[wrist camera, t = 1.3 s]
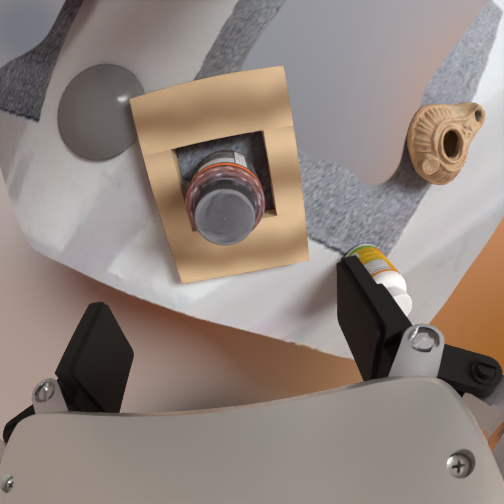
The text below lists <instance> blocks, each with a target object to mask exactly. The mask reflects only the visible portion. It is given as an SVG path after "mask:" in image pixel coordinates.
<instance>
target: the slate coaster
mask: <svg viewBox="0 0 504 504" xmlns="http://www.w3.org/2000/svg"><path fill="white" fill-rule="evenodd" d="M141 95H144V90H143V88H142V86H141V84H140V82H139V81H138V79H137V78H136V77H135V76H134V75H133V74H132V73H131V72H129V71H128V70H126V69H124V68H122V67H119V66H115V65H109V64H104V65H97V66H93V67H91V68H88V69H86V70H84V71H83V72H81V73H80V74H78V75H77V76H76V77H75V78H74V79H73V80H72V81H71V82H70V84H69V85H68V86H67V88H66V90H65V91H64V93H63V95H62V98H61V101H60V104H59V109H58V126H59V130H60V134H61V136H62V138H63V140H64V142H65V144H66V145H67V146H68V147H69V149H70V150H72V151H73V152H74V153H75V154H77V155H78V156H80V157H82V158H85V159H89V160H105V159H108V158H111V157H114V156H116V155H118V154H119V153H121V152H123V151H124V150H125V149H127V148H128V147H129V146H130V145H131V144H132V143H133V142H134V140H135V139H136V138H137V136H138V134H137V130H136V126H135V122H134V118H133V113H132V109H131V104H130V100H129V99H132V98H135V97H138V96H141Z"/></svg>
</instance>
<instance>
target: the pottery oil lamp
mask: <svg viewBox="0 0 504 504" xmlns="http://www.w3.org/2000/svg"><path fill="white" fill-rule="evenodd" d="M484 121H485V111H484V109H483V108H482V106H480V105H479V104H477V103H472V102H465V103H459V104H454V105H444V104H431V105H425V106H423V107H421V108H420V109H419V110H418V111H417V112H416V113H415V115H414V117H413V118H412V120H411V122H410V125H409V128H408V136H407V146H408V150H409V154H410V158H411V161H412V164H413V166H414V168H415V171H416V172H417V173H418V174H419V175H420V176H421V177H422V178H423V179H425V180H426V181H428V182H429V183H431V184H436V185H445V184H447V183H449V182H451V181H452V180H453V179H454V178H455V177H456V176H457V175H458V173H459V172H460V170H461V168H462V167H463V165H464V163H465V160H466V158H467V153H468V148H469V145H470V143H471V141H472V139H473V138H474V136H475V135H476V133H477V132H478V130H479V129H480V128H481V127H482V125H483V123H484Z"/></svg>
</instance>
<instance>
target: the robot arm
mask: <svg viewBox="0 0 504 504" xmlns="http://www.w3.org/2000/svg"><path fill="white" fill-rule="evenodd" d="M337 317H338V322H339V325H340V327H341V329H342V332H343V334H344V336H345V338H346V341H347V343H348V345H349V348H350V350H351V352H352V355H353V357H354V359H355V362H356V364H357V366H358V369H359V371H360V373H361V376H362V378H363V380H364V382H360V383H355V384H350V385H346V386H343V387H338V388H334V389H330V390H325V391H321V392H316V393H311V394H306V395H301V396H296V397H291V398H286V399H281V400H275V401H269V402H262V403H257V404H249V405H242V406H234V407H226V408H216V409H206V410H194V411H179V412H158V413H119V412H120V408H121V403H122V400H123V395H124V392H125V388H126V383H127V380H128V376H129V372H130V368H131V365H132V361H133V357H134V353H133V350H132V348H131V346H130V344H129V342H128V341H127V339H126V337H125V336H124V334H123V332H122V330H121V328H120V327H119V325H118V323H117V321H116V319H115V317H114V315H113V314H112V312H111V310H110V308H109V306H108V305H106V304H104V303H103V302H96V303H91V304H89V306H88V308H87V309H86V311H85V313H84V315H83V317H82V319H81V321H80V323H79V324H78V326H77V328H76V330H75V332H74V334H73V336H72V338H71V340H70V342H69V344H68V346H67V348H66V350H65V352H64V354H63V356H62V359H61V361H60V363H59V365H58V367H57V369H56V372H55V374H56V375H57V377H58V379H57V381H56V380H55V379H52V378H48V379H45V380H43V381H41V382H40V383H39V384H37V386H36V387H35V388H34V390H33V393H32V402H33V404H32V405H31V406H30V407H28V408H27V409H25V410H24V411H23V412H21V413H20V414H19V415H17V416H16V417H14V418H13V419H12V420H10V421H9V422H8V423H7V424H6V426H5V428H4V431H3V439H4V441H2V440H0V504H504V375H503V374H502V369H501V366H500V365H499V363H498V362H497V361H496V360H495V359H493V358H491V357H489V356H486V355H482V354H478V353H474V352H471V351H467V350H464V349H461V348H457V347H453V346H450V345H447V344H444V337H443V334H442V333H441V332H440V331H439V329H437V328H436V327H434V326H432V325H429V324H415V325H412V324H411V322H410V321H409V319H408V318H407V317H406V315H405V314H404V312H403V311H402V309H401V308H400V307H399V305H398V304H397V302H396V301H395V300H394V298H393V297H392V295H391V294H390V293H389V291H388V290H387V288H386V287H385V286H384V285H383V284H381V283H379V284H377V283H376V282H375V280H374V279H373V277H372V276H371V275H370V273H369V272H368V270H367V269H366V268H365V266H364V265H363V264H362V262H361V261H360V260H359V258H358V257H357V256H356V255H353V256H348V257H344V258H341V262H338V263H337ZM477 422H478V423H477ZM480 428H482V429H483V430H484V431H485V432H486V434H487V436H488V443H487V440H486V438H485V436H484V434H483V432H482V431H481V429H480Z"/></svg>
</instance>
